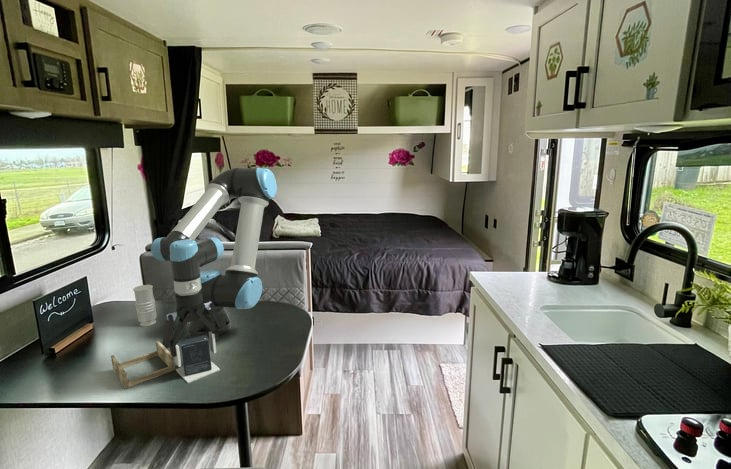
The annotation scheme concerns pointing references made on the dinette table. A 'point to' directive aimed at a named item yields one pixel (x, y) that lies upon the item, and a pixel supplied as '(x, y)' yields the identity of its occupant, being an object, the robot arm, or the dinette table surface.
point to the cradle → (160, 352)
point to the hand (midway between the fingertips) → (196, 358)
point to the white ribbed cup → (145, 305)
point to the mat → (198, 375)
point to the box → (196, 354)
